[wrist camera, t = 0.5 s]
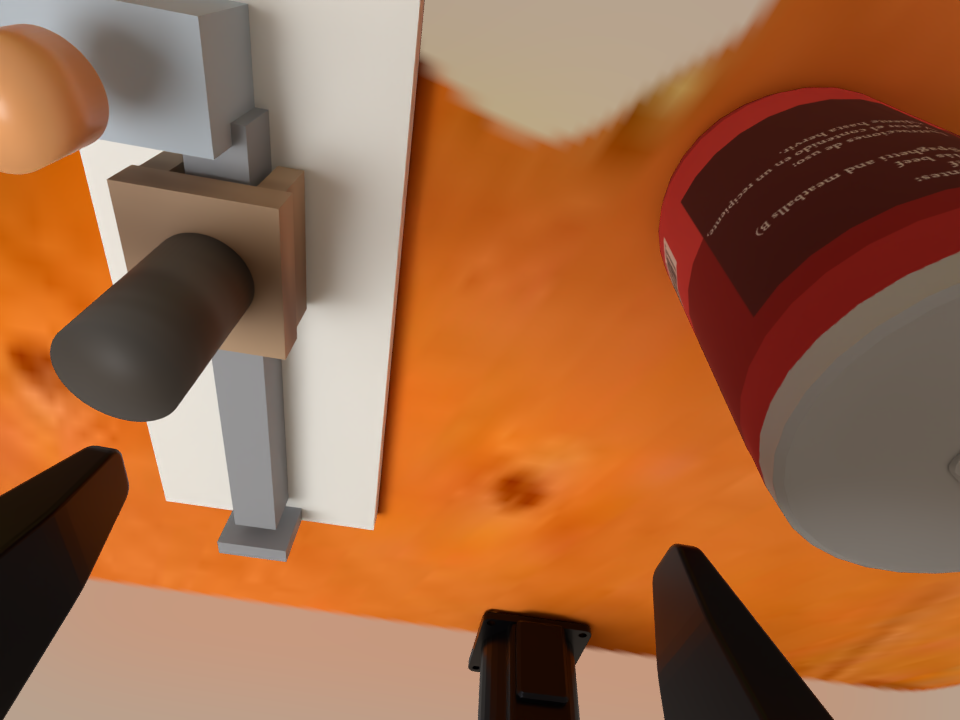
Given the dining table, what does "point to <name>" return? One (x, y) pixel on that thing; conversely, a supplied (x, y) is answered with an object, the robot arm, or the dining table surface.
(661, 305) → the dining table surface
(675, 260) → the canned food
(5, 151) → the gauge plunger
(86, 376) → the carriage
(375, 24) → the plate
